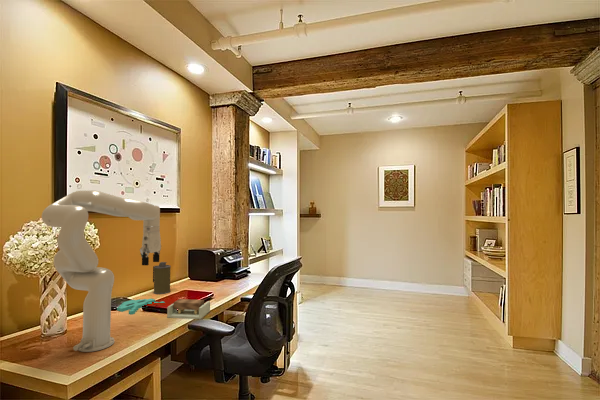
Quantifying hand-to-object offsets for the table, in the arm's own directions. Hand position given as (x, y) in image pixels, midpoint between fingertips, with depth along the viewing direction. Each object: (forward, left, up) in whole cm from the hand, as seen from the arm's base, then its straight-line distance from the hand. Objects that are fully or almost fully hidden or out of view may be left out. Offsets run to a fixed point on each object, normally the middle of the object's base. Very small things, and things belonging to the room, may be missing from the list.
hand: (150, 263), depth 157 cm
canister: (+51, +22, -28) cm, 62 cm away
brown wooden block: (+10, -16, -25) cm, 31 cm away
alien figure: (+20, +19, -29) cm, 40 cm away
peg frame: (+10, -16, -28) cm, 34 cm away
